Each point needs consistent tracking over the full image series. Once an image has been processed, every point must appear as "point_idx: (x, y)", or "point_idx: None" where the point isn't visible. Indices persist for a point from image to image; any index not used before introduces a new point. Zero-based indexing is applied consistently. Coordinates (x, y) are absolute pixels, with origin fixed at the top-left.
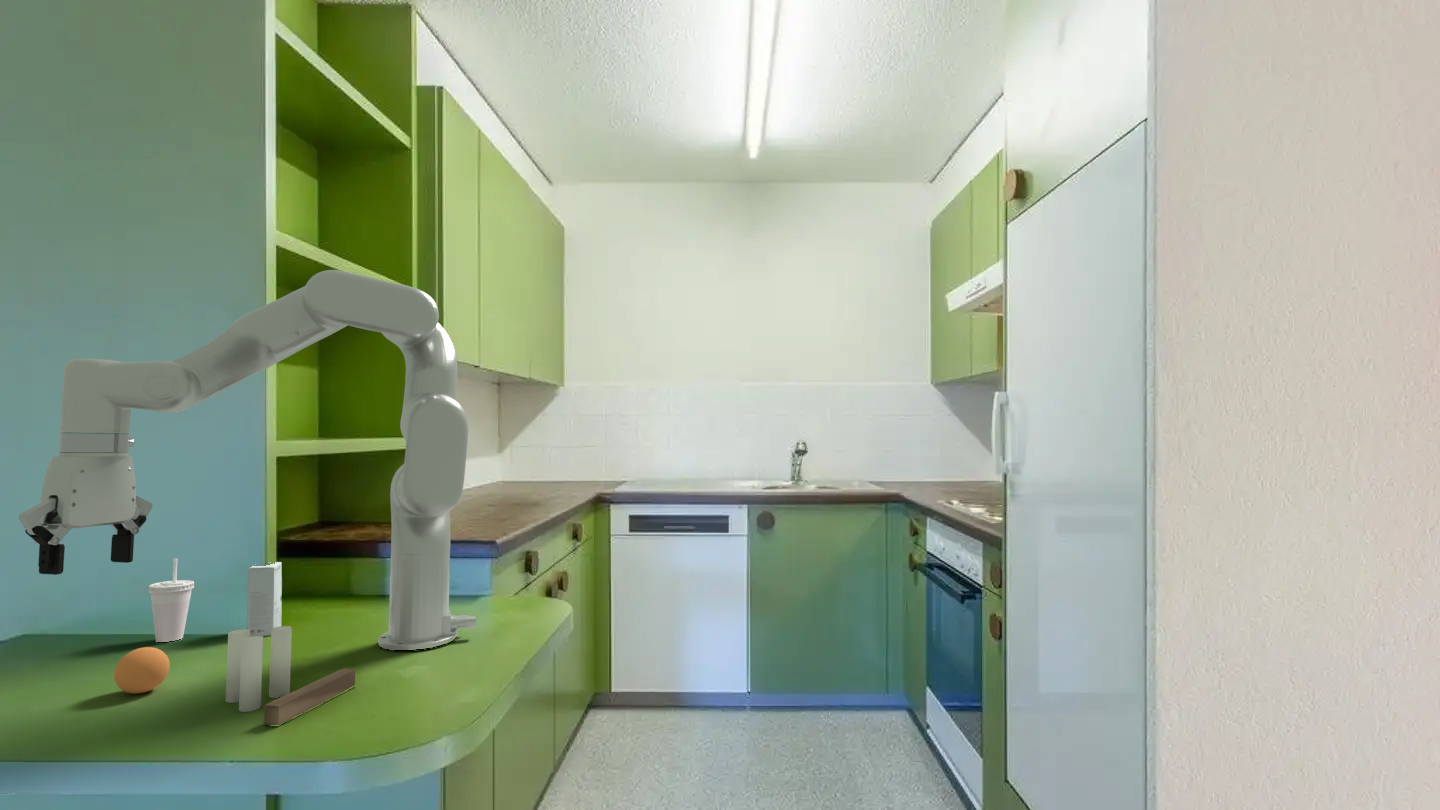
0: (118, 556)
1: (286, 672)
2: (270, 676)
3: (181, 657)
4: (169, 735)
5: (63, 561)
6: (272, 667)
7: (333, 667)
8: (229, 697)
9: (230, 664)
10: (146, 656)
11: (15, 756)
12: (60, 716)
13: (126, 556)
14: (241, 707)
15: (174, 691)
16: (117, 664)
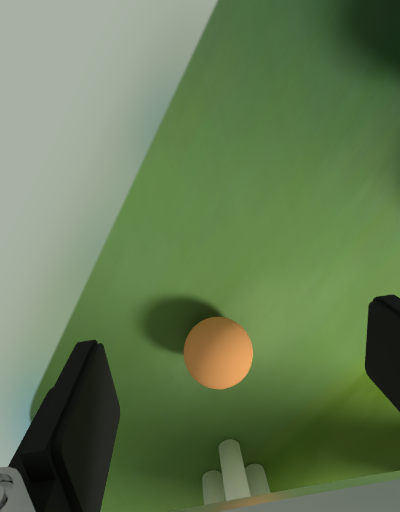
0: (381, 347)
1: None
2: (250, 494)
3: (360, 224)
4: (131, 475)
5: (111, 452)
6: None
7: (351, 448)
8: (219, 455)
9: (225, 496)
10: (211, 387)
11: (32, 407)
12: (117, 330)
13: (380, 382)
14: (202, 483)
15: None
16: (192, 348)
